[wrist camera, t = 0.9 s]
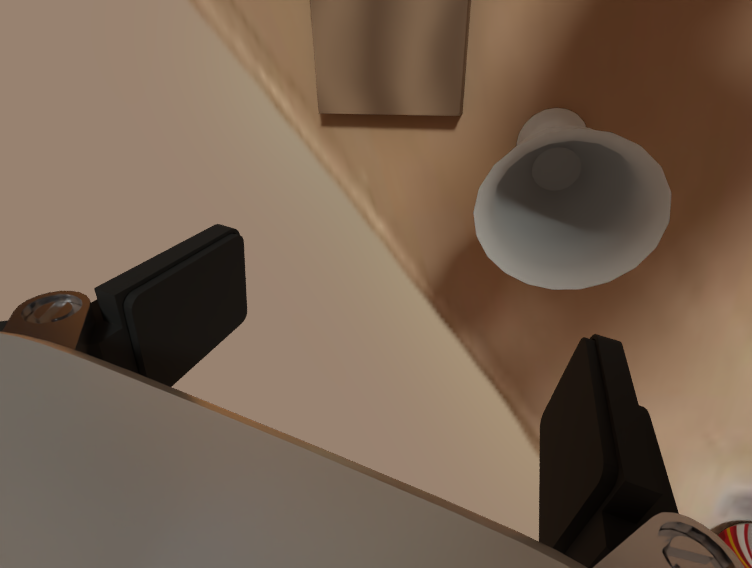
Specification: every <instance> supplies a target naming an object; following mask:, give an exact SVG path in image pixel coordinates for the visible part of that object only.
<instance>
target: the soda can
mask: <svg viewBox="0 0 752 568" xmlns="http://www.w3.org/2000/svg"><path fill="white" fill-rule="evenodd" d="M718 536H719V537H720V538H721V539H722V540H723V541H724V542H725V543H726V544H727V545H728V546H729V547H730V548H731V549H732V550H733V552H734V553H735V554H736V556H737V557H738V559H739V560H740V561H741V563H742V564H743V565H744V567H745V568H752V523H739V524H735V525H733V526H731V527H729V528H726V529H725V530H723V531H722V532H721V533H720V534H719V535H718Z"/></svg>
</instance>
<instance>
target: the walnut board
mask: <svg viewBox="0 0 752 568" xmlns="http://www.w3.org/2000/svg"><path fill="white" fill-rule="evenodd" d="M470 7H471V0H310V8H311V20H312V33H313V46H314V59H315V72H316V85H317V98H318V110H319V113H329V114H384V115H438V116H460V115H461V114H462V111H463V98H464V85H465V72H466V59H467V46H468V33H469V20H470Z"/></svg>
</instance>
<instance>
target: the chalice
mask: <svg viewBox="0 0 752 568" xmlns="http://www.w3.org/2000/svg"><path fill="white" fill-rule="evenodd" d="M670 207H671V191H670V188H669V185H668V183H667V180H666V177H665V175H664V172H663V170H662V167H661V166H660V165H659V164H658V163H657V162H656V161H655V160H654V159H653V158H652V157H651V156H650V155H649V154H648V153H647V152H646V151H645V150H644V149H643V148H642V147H641V146H640V145H638V144H636V143H634V142H632V141H630V140H627V139H625V138H623V137H621V136H619V135H616V134H614V133H612V132H605V131H597V130H593V129H591V128H586V126H585V123H584V121H583V120H582V119H581V118H580V117H579V116H578V115H577V114H576V113H574V112H572V111H570V110H568V109H562V108H552V109H546V110H543V111H541V112H539V113H537V114H535V115H534V116H532V117H531V118H530V119H529V120H528V121H527V122H526V123H525V124H524V126H523V128H522V129H521V131H520V133H519V136H518V140H517V146H516V147H515V148H514V149H512V150H511V151H510V152H509V153H508V154H507V155H506V156H504V157H503V158H502V159H501V160H500V161H498V162H497V163H496V164H495V165H494V166H493V168H492V169H491V171H490V172H489V174H488V175H487V177H486V178H485V180H484V181H483V183H482V184H481V186H480V188H479V191H478V195H477V199H476V204H475V208H474V212H473V213H474V221H475V229H476V236H477V238H478V240H479V242H480V243H481V245H482V247H483V249H484V251H485V253H486V255H487V256H488V257H489V258H490V259H491V260H492V261H493V262H494V263H495V264H496V265H497V266H498V267H499V268H500V269H501V270H502V271H503V272H505V273H506V274H508V275H510V276H512V277H514V278H516V279H518V280H520V281H522V282H524V283H526V284H529V285H534V286H538V287H543V288H548V289H552V290H563V289H583V288H587V287H591V286H595V285H599V284H603V283H607V282H610V281H612V280H614V279H616V278H617V277H619V276H621V275H623V274H625V273H627V272H629V271H630V270H632V269H634V268H636V267H637V266H638V265H639V264H640V263H641V262H642V261H643V260H644V259H645V258H646V257H647V256H648V255H649V254H650V253H651V252H652V251H653V250H654V249H655V248H656V247H657V245H658V243H659V241H660V239H661V237H662V235H663V233H664V231H665V229H666V227H667V225H668V223H669V221H670Z"/></svg>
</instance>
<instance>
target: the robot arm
mask: <svg viewBox="0 0 752 568" xmlns="http://www.w3.org/2000/svg"><path fill="white" fill-rule="evenodd" d="M95 293H96V296H97V300H95V301H94V302H92V303H91V302H90V299H89V298H88V297H87V296H86V295H84V294H82V293H80V292H75V291H56V292H49V293H46V294H42V295H38V296H36V297H33V298H31V299H29V300H27V301H25V302H23V303H22V304H20V305H19V306H18V307H17V308H16V309H15V310H14V311H13V313H12V315H11V317H10V318H9V320H8V321H1V322H0V568H745V567H744V565H743V564H742V563H741V561H740V560H739V559H738V557H737V556H736V554H735V553H734V552H733V550H732V549H731V548H730V547H729V546H728V545H727V544H726V543H725V542H724V541H723V540H722V539H721V538H720V537H719V536H717V535H716V534H715V533H713V532H712V531H711V530H709V529H708V528H707V527H705V526H704V525H702V524H701V523H699V522H697V521H695V520H693V519H691V518H689V517H687V516H684V515H680V514H679V513H678V510H677V506H676V503H675V499H674V496H673V493H672V489H671V486H670V483H669V479H668V476H667V472H666V469H665V466H664V462H663V459H662V455H661V452H660V449H659V445H658V442H657V438H656V435H655V432H654V428H653V425H652V421H651V418H650V415H649V413H648V411H647V409H645V408H644V407H642V406H639V405H638V401H637V397H636V394H635V390H634V386H633V383H632V379H631V375H630V371H629V368H628V364H627V360H626V357H625V353H624V349H623V346H622V343H621V342H620V341H617V340H613V339H610V338H606V337H603V336H600V335H596V334H594V335H593V336H592V337H591V338H590V339H588V338H585V337H583V338H582V339H581V340H580V342H579V344H578V346H577V348H576V350H575V352H574V354H573V356H572V358H571V360H570V362H569V364H568V366H567V368H566V369H565V371H564V373H563V375H562V377H561V379H560V381H559V383H558V385H557V387H556V389H555V391H554V393H553V395H552V397H551V399H550V401H549V403H548V405H547V407H546V409H545V411H544V413H543V415H542V418H541V423H540V487H539V490H540V491H539V498H540V499H539V542H538V541H536V540H534V539H532V538H530V537H528V536H526V535H524V534H522V533H520V532H518V531H515V530H513V529H511V528H508V527H506V526H504V525H502V524H499V523H497V522H495V521H492V520H490V519H488V518H485V517H483V516H481V515H478V514H476V513H474V512H472V511H469V510H467V509H465V508H462V507H460V506H458V505H455V504H453V503H451V502H449V501H446V500H444V499H442V498H439V497H437V496H434V495H432V494H430V493H427V492H425V491H422V490H420V489H418V488H415V487H413V486H411V485H408V484H406V483H403V482H401V481H399V480H396V479H393V478H391V477H389V476H386V475H384V474H382V473H379V472H377V471H374V470H372V469H370V468H367V467H365V466H362V465H360V464H358V463H355V462H353V461H350V460H348V459H346V458H343V457H341V456H338V455H336V454H334V453H331V452H329V451H326V450H324V449H321V448H319V447H317V446H314V445H312V444H309V443H307V442H304V441H302V440H299V439H297V438H294V437H292V436H290V435H287V434H285V433H282V432H280V431H278V430H275V429H273V428H270V427H268V426H265V425H263V424H261V423H258V422H255V421H253V420H251V419H248V418H246V417H243V416H241V415H238V414H236V413H233V412H231V411H229V410H226V409H224V408H221V407H219V406H216V405H214V404H211V403H209V402H207V401H204V400H202V399H199V398H197V397H194V396H192V395H189V394H187V393H184V392H182V391H179V390H177V389H174V388H172V386H173V385H174V384H175V383H176V382H177V381H178V380H179V379H180V378H182V377H183V376H184V375H185V374H186V373H187V372H188V371H189V370H190V369H191V368H192V367H194V366H195V365H196V364H197V363H198V362H199V361H200V360H202V359H203V358H204V357H205V356H206V355H207V354H208V353H209V352H210V351H211V350H212V349H214V348H215V347H216V346H217V345H218V344H219V343H220V342H221V341H223V340H224V339H225V338H226V337H227V336H228V335H229V334H230V333H232V332H233V330H235V329H236V328H237V327H238V326H239V325H240V324H241V323H242V322H243V321H244V320H245V318H246V315H247V300H246V278H245V258H244V242H243V238H242V236H240V234H239V232H238V231H237V230H236V229H234V228H230V227H227V226H223V225H220V224H217V225H214V226H212V227H210V228H208V229H206V230H204V231H202V232H200V233H199V234H196V235H195V236H193V237H191V238H189V239H187V240H185V241H183V242H181V243H179V244H177V245H176V246H174V247H172V248H170V249H168V250H166V251H164V252H162V253H161V254H158V255H157V256H155V257H153V258H151V259H149V260H147V261H145V262H143V263H142V264H140V265H138V266H136V267H134V268H132V269H130V270H128V271H126V272H124V273H122V274H120V275H119V276H117V277H115V278H113V279H111V280H109V281H107V282H105V283H103V284H101V285H100V286H98V287H96V288H95Z"/></svg>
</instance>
